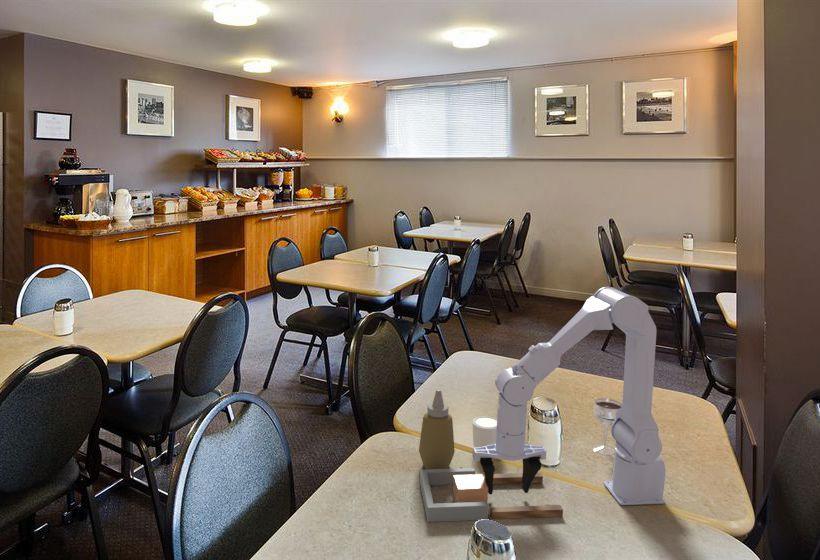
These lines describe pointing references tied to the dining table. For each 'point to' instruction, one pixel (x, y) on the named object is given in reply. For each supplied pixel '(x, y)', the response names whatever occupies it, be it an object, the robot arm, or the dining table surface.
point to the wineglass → (605, 420)
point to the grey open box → (449, 509)
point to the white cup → (484, 431)
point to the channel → (522, 510)
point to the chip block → (470, 488)
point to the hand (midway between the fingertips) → (507, 490)
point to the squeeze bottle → (437, 435)
